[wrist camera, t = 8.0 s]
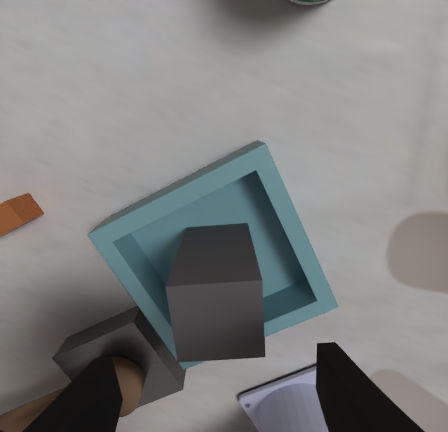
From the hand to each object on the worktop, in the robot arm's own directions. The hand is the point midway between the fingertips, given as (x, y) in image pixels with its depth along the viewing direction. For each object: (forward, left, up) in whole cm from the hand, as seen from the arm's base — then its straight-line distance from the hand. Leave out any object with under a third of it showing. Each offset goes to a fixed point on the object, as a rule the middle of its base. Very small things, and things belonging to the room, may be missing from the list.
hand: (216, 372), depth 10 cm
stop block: (0, 0, -9) cm, 9 cm away
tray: (0, 0, -10) cm, 10 cm away
